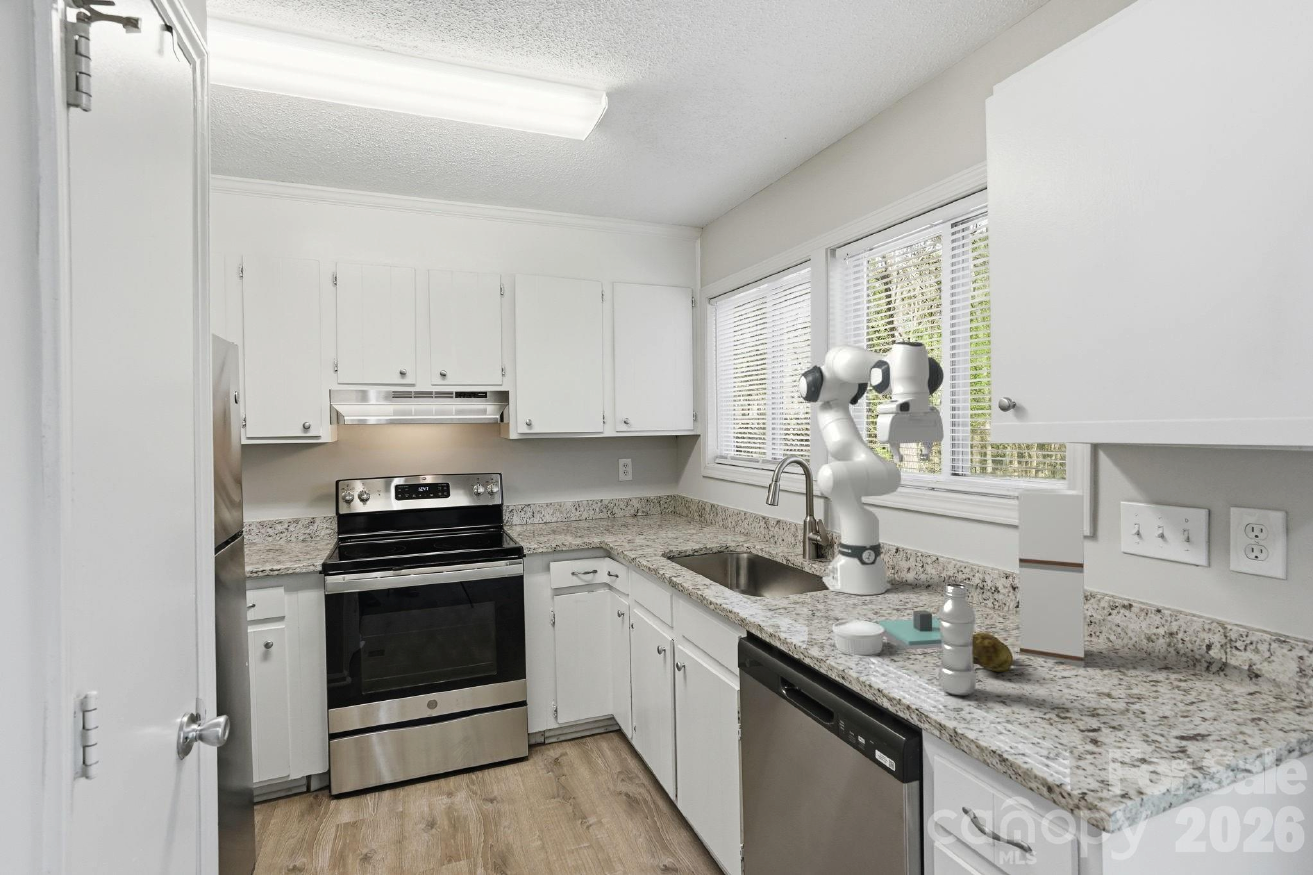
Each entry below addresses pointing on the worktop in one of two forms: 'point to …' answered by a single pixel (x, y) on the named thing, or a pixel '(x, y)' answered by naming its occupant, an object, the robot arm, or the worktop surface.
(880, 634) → the ramekin
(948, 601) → the plastic bottle
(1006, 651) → the potato
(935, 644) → the mat
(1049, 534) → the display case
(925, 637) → the lid
